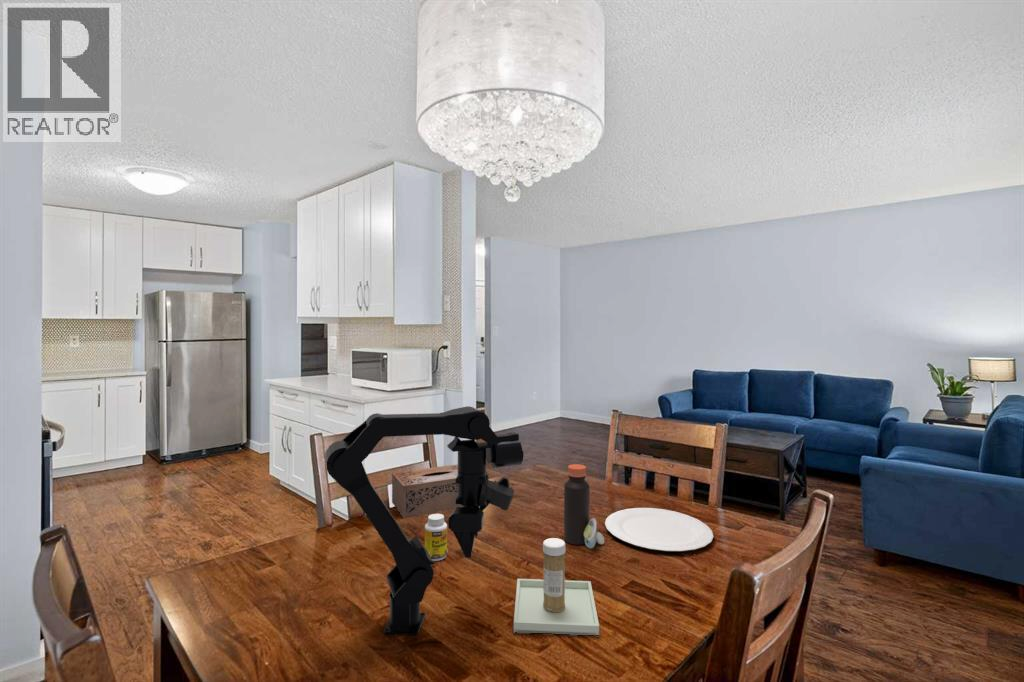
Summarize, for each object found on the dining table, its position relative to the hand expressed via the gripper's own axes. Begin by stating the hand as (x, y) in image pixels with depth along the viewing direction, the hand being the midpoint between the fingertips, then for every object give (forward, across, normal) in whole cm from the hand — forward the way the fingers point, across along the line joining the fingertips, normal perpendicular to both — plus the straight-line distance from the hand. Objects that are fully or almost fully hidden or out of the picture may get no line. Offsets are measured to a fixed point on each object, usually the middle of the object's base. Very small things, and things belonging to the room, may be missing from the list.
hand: (471, 546), depth 100 cm
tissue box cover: (+14, +58, +19) cm, 63 cm away
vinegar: (+13, +34, -24) cm, 44 cm away
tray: (+13, +1, -17) cm, 21 cm away
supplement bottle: (+13, +22, +12) cm, 28 cm away
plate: (+14, +41, -47) cm, 64 cm away
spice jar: (+13, +1, -17) cm, 21 cm away
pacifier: (+8, +30, -26) cm, 41 cm away
